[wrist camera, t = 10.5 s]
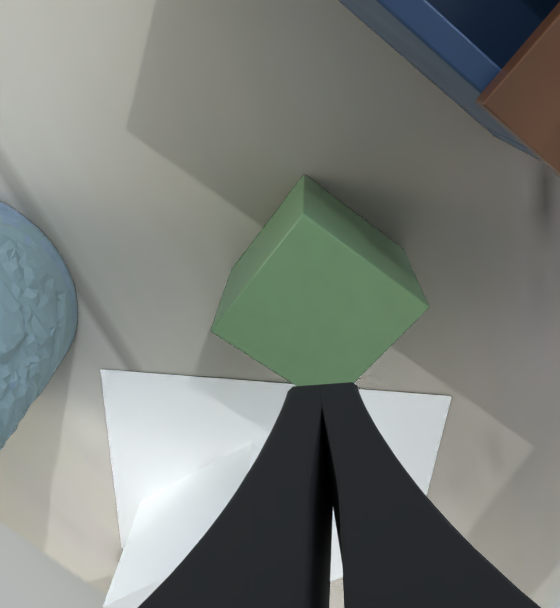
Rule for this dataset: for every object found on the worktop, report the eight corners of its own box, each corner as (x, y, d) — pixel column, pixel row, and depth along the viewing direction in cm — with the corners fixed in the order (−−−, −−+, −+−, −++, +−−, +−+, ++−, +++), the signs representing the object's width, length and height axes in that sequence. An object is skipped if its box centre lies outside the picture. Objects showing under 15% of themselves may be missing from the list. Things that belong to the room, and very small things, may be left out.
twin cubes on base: (121, 550, 27) (78, 667, 22) (96, 368, 22) (32, 467, 17) (410, 571, 27) (433, 696, 22) (452, 392, 22) (496, 500, 17)
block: (404, 249, 19) (430, 307, 15) (325, 335, 21) (329, 408, 17) (304, 173, 18) (302, 212, 14) (230, 271, 20) (209, 331, 16)
